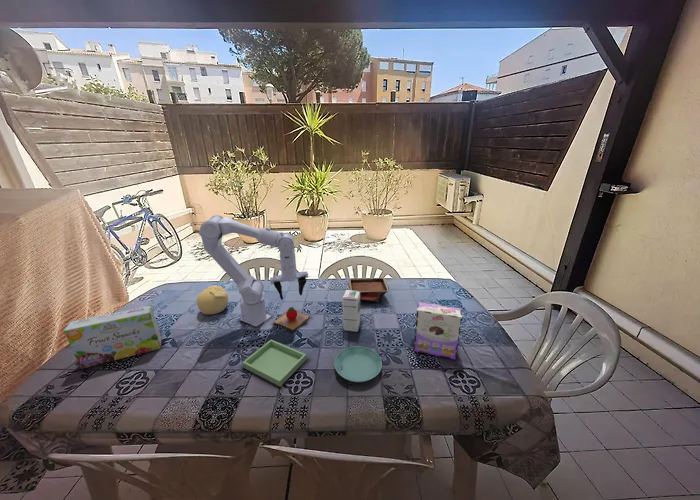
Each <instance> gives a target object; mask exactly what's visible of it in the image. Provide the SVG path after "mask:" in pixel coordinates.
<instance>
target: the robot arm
mask: <svg viewBox="0 0 700 500" xmlns="http://www.w3.org/2000/svg"><path fill="white" fill-rule="evenodd" d="M232 233H233V234H237V235H241V236H244V237H245V236H246V237H250V238H254V239H256V241H257V242H258V243H259V244H263V245H266V246H269V247H273V248H276V249H278V251H279V262H280V273H281V274H279V275H275V276H272V277H269V283H270V285H273V286H274V288H275V290H276V291H277V293H278V294H279V298H280V300H283V299H284V297H283V289H282V287H283V286H282V282H288V283H289V282H294V281H295V280H297V283H298V294H299V296H303V291H304V288H305V285H306V283H307V279H308V278H309V273H308V271H306V270H305V271H297V262H296V261H297V259H296V249H295V237H294V236H293V235H292V234H291V233H289V232H283V231H280V232H279V231H276V230H273V229H271V227H269V226H267V227H261V228H256V227H253V226H252V225H248V224H245V223H242V222H239V221H236V220H234V219H232V218H231V217H228V216H227V217H226V216H222V215H218V214H215V215H212V216H211V217H210V218H209V219H208V220H206V221H203V222H202V223H201V225H200V227H199V231H198V234H199V236H200V238H201V241H202V242H201V243H202V245H203V246H202V247H203V248H204V250H205V251H206V252H207V254H208V255H209V256H210V257H211V258H212V259H213V260H214V261H215V263H217V265H218V266H219V267H220V268H221V269H222V270H223V271H224V272H225V273H226V274H227V275H228V277H230V279H231V280H232V281H233V282H234V283H235V284H236V285H237V288H238V293H239V295H240V296H241V297H242V299H241V301H240V303H239V305H240V306H239V307H240V314H241V318H240V321H241V322H244V323H247V324H249V325H250V326H254V327H256V328H257V327H258V326H260V325H261V324H263V323H264V322H266V321H267V320H268V319H270V318H271V317H272V315H271V314H269V313H267V310H266V309H267V308H266V302H265V296H264V295H263V291H264V288H265V286H264V283H263V282H262V280H261V281H260V280H258V279H257V278H255V276H253V275H250V274H248V273H247V272H246V270H245V269H244V268H243V267H242V265H240V263H239V262H238V261H237V260H236V259H235V258H234V257H233V255H232V254H231V253H230V252H229V251H228V250H227V249H226V247H225V246H224V245H223V244H222V240H223V236H226V235H229V234H232Z"/></svg>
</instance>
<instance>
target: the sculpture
mask: <svg viewBox="0 0 700 500" xmlns="http://www.w3.org/2000/svg"><path fill="white" fill-rule="evenodd" d="M228 304H229V294H228V291H226V290H225V289H224V288H223V287H222V286H221V285H209V286H208V287H207V288H205V289H202V291H200V292H199V293H198V296H197V298H196V306H197V309H198V311H200V313H202V314H203V315H208V316H209V315H215V314H219V313H220V314H221V312H223V311H224V310H225V309H226V308H227V306H228Z"/></svg>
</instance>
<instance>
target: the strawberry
mask: <svg viewBox="0 0 700 500" xmlns="http://www.w3.org/2000/svg"><path fill="white" fill-rule="evenodd" d="M297 312H298V311H297V310H296V309H295V307H294V306H291V307H289V308H288V310H287V311H286V312H285V313H286V317H287V318H288V320H289V321H294V320H295V319H296V317H297Z"/></svg>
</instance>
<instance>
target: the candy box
mask: <svg viewBox="0 0 700 500" xmlns="http://www.w3.org/2000/svg"><path fill="white" fill-rule="evenodd" d="M415 317H416V318H415V326H414V339H413V340H414V341H413V348H412V351H413V352H416V353H422V354H427V355H432V356H436V357H441V358H446V359H449V360H450V359H451V360H457V356H458V349H459V340H460V334H461V330H462V329H461V328H462V321H463V313H462V308H461V307H460V308H459V307H455V306H448V305H443V304H435V303H428V302H423V301H418V303H417V308H416V315H415Z"/></svg>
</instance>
